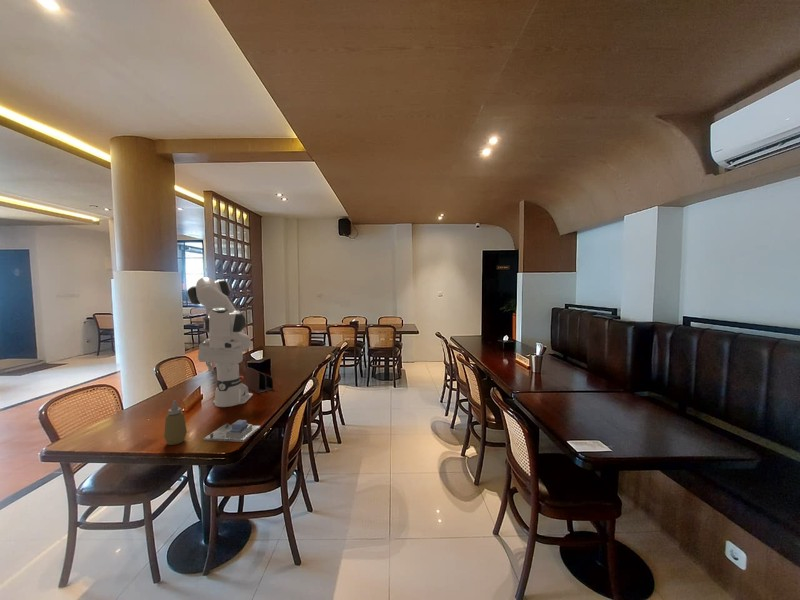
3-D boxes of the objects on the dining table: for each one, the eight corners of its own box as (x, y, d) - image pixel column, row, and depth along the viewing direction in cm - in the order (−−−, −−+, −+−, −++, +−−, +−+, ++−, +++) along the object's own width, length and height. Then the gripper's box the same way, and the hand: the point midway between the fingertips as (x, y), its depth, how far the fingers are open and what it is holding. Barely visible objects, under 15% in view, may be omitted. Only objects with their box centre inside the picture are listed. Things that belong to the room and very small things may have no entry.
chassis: (224, 426, 156) (223, 420, 156) (260, 427, 155) (260, 422, 155) (204, 440, 143) (203, 434, 142) (243, 441, 141) (243, 435, 141)
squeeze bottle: (171, 438, 145) (170, 397, 144) (191, 437, 145) (189, 397, 145) (159, 447, 137) (158, 404, 136) (180, 446, 137) (178, 403, 137)
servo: (240, 428, 152) (240, 418, 152) (248, 428, 152) (248, 418, 152) (230, 435, 145) (229, 425, 145) (238, 435, 144) (238, 425, 144)
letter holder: (258, 393, 205) (257, 371, 204) (244, 387, 218) (244, 366, 218) (273, 389, 212) (273, 368, 212) (259, 383, 226) (259, 363, 225)
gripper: (194, 343, 152) (195, 372, 153) (236, 344, 151) (237, 374, 152) (203, 340, 158) (204, 368, 159) (244, 342, 157) (244, 370, 158)
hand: (220, 371), depth 155 cm, fingers open, 8 cm apart
